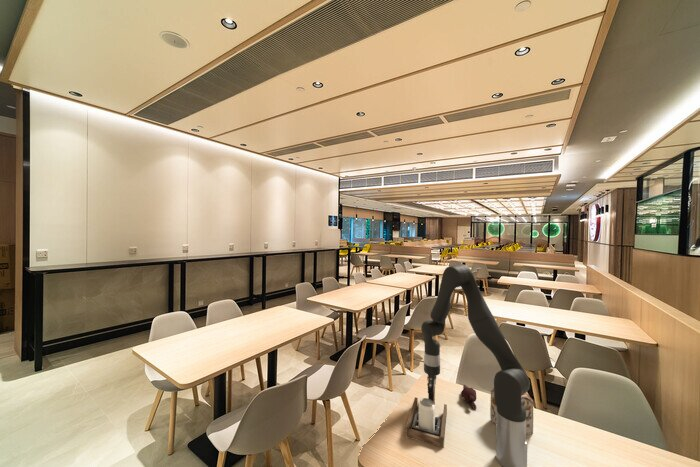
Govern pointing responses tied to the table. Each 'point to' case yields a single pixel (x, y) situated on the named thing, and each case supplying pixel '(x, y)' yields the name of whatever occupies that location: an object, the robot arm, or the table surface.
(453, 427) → the table surface
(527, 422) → the decorative jar
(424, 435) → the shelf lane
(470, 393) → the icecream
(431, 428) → the can
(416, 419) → the pull frame
